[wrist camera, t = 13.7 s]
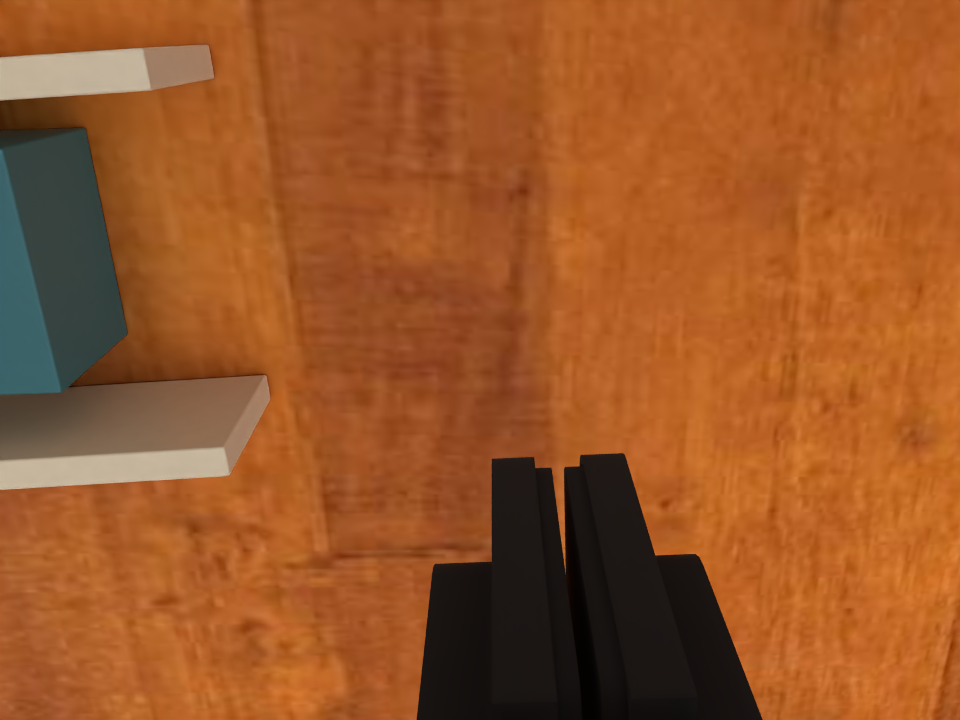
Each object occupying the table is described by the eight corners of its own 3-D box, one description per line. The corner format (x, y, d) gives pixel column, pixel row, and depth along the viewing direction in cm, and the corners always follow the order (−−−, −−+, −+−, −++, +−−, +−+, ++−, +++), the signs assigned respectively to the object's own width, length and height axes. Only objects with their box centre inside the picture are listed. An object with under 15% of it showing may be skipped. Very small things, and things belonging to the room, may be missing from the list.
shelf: (207, 37, 25) (130, 39, 19) (272, 404, 29) (225, 493, 24) (-185, 62, 25) (-377, 72, 19) (-59, 424, 30) (-184, 518, 24)
